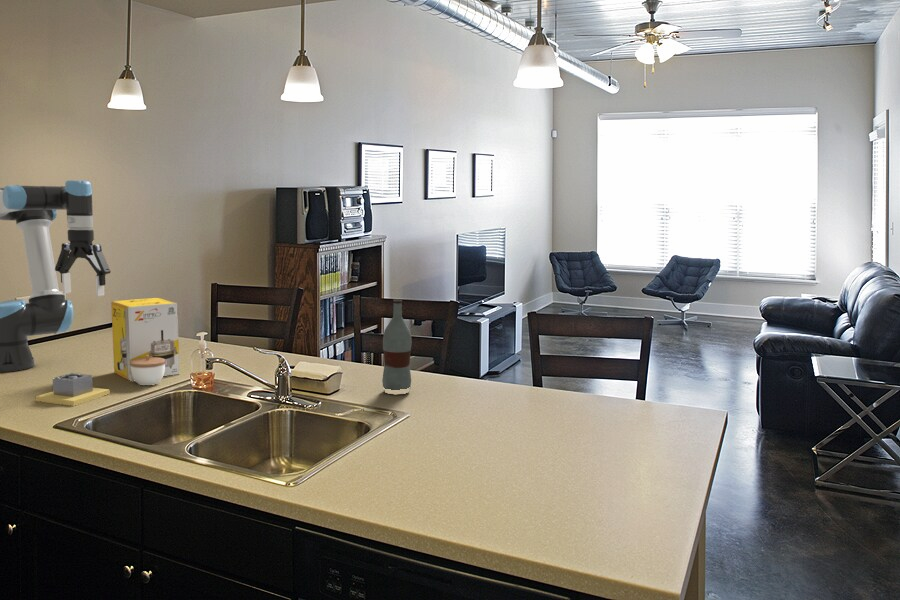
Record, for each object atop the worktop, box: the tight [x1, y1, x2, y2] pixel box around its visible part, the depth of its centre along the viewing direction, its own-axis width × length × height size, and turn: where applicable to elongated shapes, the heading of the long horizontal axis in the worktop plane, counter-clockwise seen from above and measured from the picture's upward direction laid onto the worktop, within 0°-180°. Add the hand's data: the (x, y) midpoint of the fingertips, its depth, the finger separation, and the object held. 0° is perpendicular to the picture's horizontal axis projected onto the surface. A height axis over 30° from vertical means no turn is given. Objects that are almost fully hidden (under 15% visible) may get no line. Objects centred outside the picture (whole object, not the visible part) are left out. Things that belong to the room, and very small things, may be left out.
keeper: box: [35, 376, 111, 407], centre depth 224 cm, size 14×14×6 cm
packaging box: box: [110, 297, 180, 382], centre depth 254 cm, size 16×16×25 cm
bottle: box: [381, 299, 412, 390], centre depth 236 cm, size 9×9×30 cm
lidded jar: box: [130, 355, 165, 386], centre depth 242 cm, size 11×11×9 cm
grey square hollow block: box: [52, 372, 94, 397], centre depth 224 cm, size 8×8×5 cm
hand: (83, 294), depth 241 cm, fingers open, 13 cm apart
